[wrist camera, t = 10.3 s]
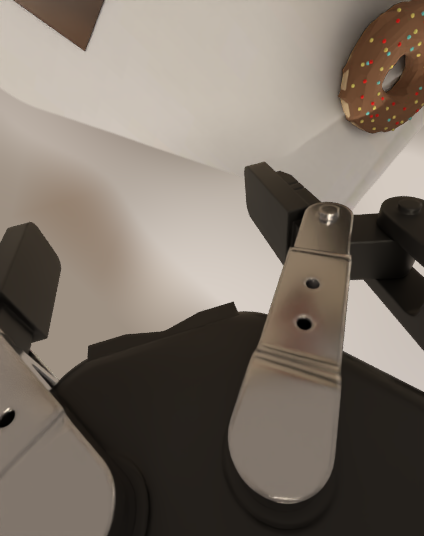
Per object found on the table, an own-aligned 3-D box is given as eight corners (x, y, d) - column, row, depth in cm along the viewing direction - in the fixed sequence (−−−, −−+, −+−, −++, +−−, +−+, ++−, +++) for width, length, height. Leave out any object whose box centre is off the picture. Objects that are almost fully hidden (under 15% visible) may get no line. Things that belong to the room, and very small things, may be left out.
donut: (436, 77, 40) (468, 83, 36) (350, 146, 43) (371, 157, 40) (424, -43, 31) (466, -51, 27) (316, 57, 34) (340, 62, 31)
